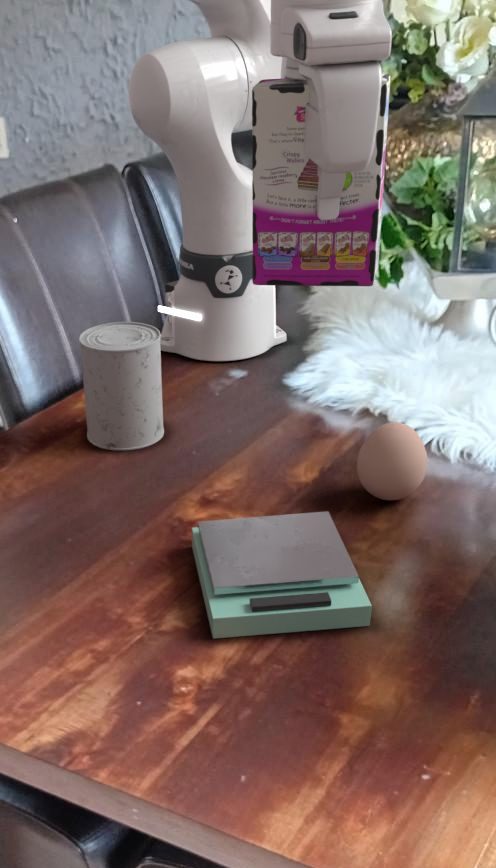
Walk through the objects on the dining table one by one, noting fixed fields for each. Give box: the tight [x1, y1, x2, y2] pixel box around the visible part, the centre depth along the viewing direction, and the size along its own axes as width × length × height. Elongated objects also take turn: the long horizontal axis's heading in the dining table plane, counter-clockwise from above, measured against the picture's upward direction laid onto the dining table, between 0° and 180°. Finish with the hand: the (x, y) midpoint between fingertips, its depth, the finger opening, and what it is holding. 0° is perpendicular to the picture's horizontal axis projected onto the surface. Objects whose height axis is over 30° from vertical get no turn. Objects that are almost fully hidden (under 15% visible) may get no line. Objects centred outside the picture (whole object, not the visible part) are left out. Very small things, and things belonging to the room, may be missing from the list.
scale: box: [191, 526, 373, 640], centre depth 94 cm, size 16×14×3 cm
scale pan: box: [197, 510, 360, 595], centre depth 94 cm, size 12×13×1 cm
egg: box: [356, 421, 428, 501], centre depth 105 cm, size 7×7×8 cm
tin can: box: [78, 321, 165, 452], centre depth 120 cm, size 10×10×12 cm
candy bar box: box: [251, 73, 391, 287], centre depth 88 cm, size 11×5×16 cm, turn 75°
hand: (317, 209), depth 89 cm, fingers closed on candy bar box, 6 cm apart
